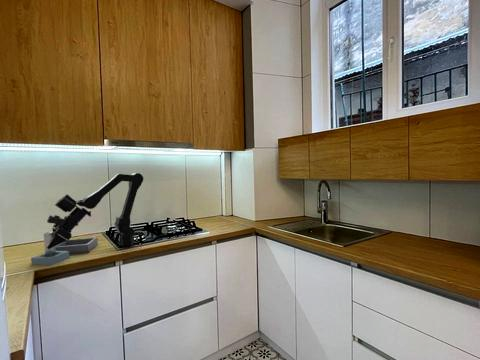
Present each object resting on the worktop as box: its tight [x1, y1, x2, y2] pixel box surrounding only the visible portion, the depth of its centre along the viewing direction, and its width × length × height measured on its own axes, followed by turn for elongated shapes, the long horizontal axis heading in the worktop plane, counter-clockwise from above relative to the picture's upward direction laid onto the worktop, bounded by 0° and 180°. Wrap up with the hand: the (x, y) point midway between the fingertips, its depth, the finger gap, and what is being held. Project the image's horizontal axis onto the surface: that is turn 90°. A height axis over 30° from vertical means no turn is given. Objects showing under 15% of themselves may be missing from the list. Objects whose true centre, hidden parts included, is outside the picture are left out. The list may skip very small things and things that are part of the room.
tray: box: [56, 236, 99, 255], centre depth 137 cm, size 16×14×4 cm
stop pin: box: [43, 231, 56, 257], centre depth 120 cm, size 4×4×13 cm
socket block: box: [30, 251, 71, 266], centre depth 121 cm, size 10×10×3 cm
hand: (47, 246), depth 120 cm, fingers open, 9 cm apart
